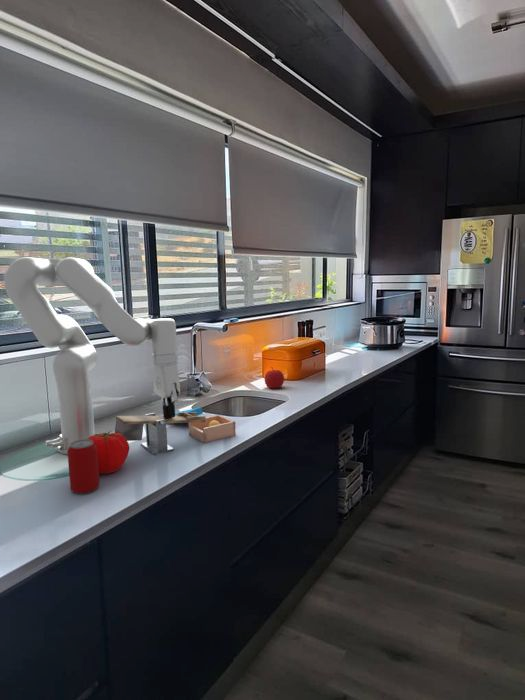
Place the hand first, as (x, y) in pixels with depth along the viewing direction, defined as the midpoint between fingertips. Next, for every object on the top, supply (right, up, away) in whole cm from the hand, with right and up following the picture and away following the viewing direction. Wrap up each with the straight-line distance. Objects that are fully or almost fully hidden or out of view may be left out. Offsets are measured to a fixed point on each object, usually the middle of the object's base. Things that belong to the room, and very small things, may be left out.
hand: (169, 417), depth 147 cm
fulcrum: (-4, -9, -1) cm, 10 cm away
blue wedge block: (+2, -6, +22) cm, 23 cm away
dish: (+12, -7, +10) cm, 17 cm away
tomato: (-14, -12, -17) cm, 25 cm away
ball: (+13, -5, +10) cm, 17 cm away
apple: (+34, +3, +75) cm, 83 cm away
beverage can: (-15, -14, -29) cm, 36 cm away
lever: (-3, -6, -1) cm, 6 cm away
